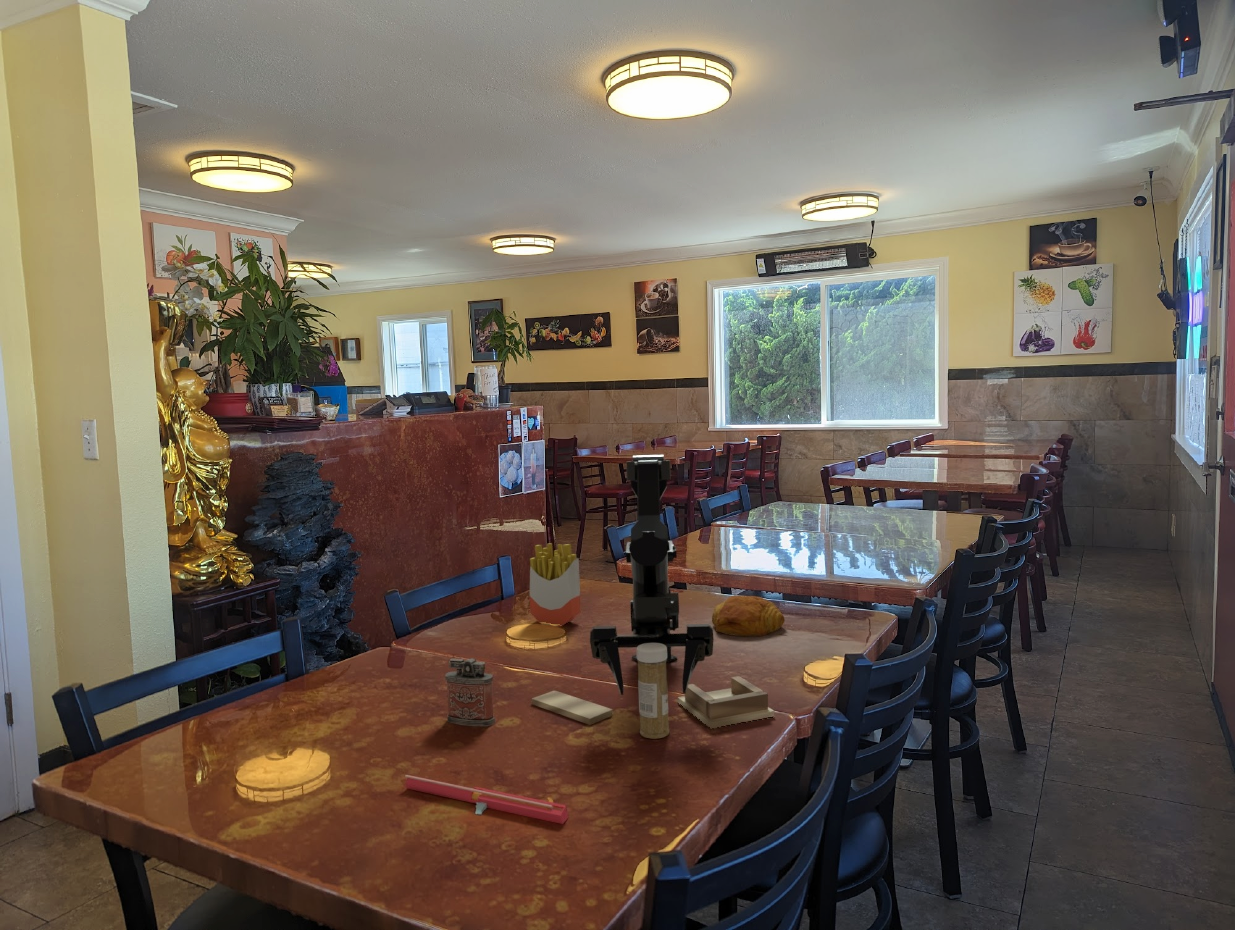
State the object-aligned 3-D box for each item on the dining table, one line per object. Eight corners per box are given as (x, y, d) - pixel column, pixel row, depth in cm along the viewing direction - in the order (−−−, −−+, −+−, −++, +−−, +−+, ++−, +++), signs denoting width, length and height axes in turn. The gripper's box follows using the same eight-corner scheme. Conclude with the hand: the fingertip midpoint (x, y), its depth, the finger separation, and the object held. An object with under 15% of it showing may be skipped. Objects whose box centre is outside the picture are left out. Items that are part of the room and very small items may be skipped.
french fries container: (571, 628, 185) (568, 547, 184) (529, 623, 190) (526, 545, 189) (581, 622, 189) (578, 544, 188) (540, 618, 194) (537, 542, 193)
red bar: (556, 839, 98) (574, 810, 102) (552, 826, 97) (571, 797, 101) (396, 803, 109) (418, 778, 112) (392, 790, 108) (414, 765, 112)
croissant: (731, 626, 191) (726, 591, 191) (794, 625, 181) (789, 589, 182) (698, 640, 179) (693, 603, 179) (764, 640, 170) (758, 601, 170)
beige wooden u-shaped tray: (677, 703, 137) (677, 682, 137) (737, 692, 141) (736, 672, 141) (711, 729, 126) (710, 706, 126) (774, 717, 130) (774, 695, 130)
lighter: (498, 719, 133) (495, 658, 132) (488, 727, 130) (485, 664, 129) (454, 714, 136) (451, 654, 135) (443, 722, 132) (440, 661, 132)
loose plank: (532, 707, 139) (531, 698, 139) (554, 698, 143) (554, 690, 143) (590, 728, 130) (589, 718, 129) (612, 718, 133) (612, 709, 133)
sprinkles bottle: (675, 734, 125) (673, 646, 123) (650, 742, 122) (648, 652, 121) (657, 725, 128) (654, 639, 127) (633, 732, 126) (630, 645, 125)
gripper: (588, 575, 128) (585, 668, 118) (711, 572, 127) (718, 666, 117) (594, 612, 136) (591, 703, 126) (708, 610, 135) (715, 701, 125)
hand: (653, 693), depth 123 cm, fingers open, 9 cm apart
